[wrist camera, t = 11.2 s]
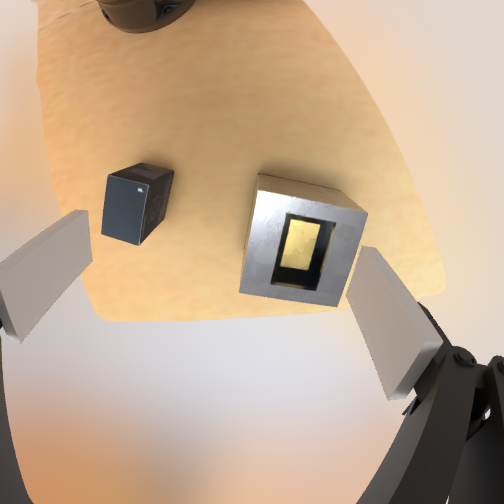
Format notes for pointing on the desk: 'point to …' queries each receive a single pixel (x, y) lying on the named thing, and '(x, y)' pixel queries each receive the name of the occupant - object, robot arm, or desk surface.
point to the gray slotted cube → (325, 250)
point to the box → (135, 202)
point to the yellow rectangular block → (298, 241)
